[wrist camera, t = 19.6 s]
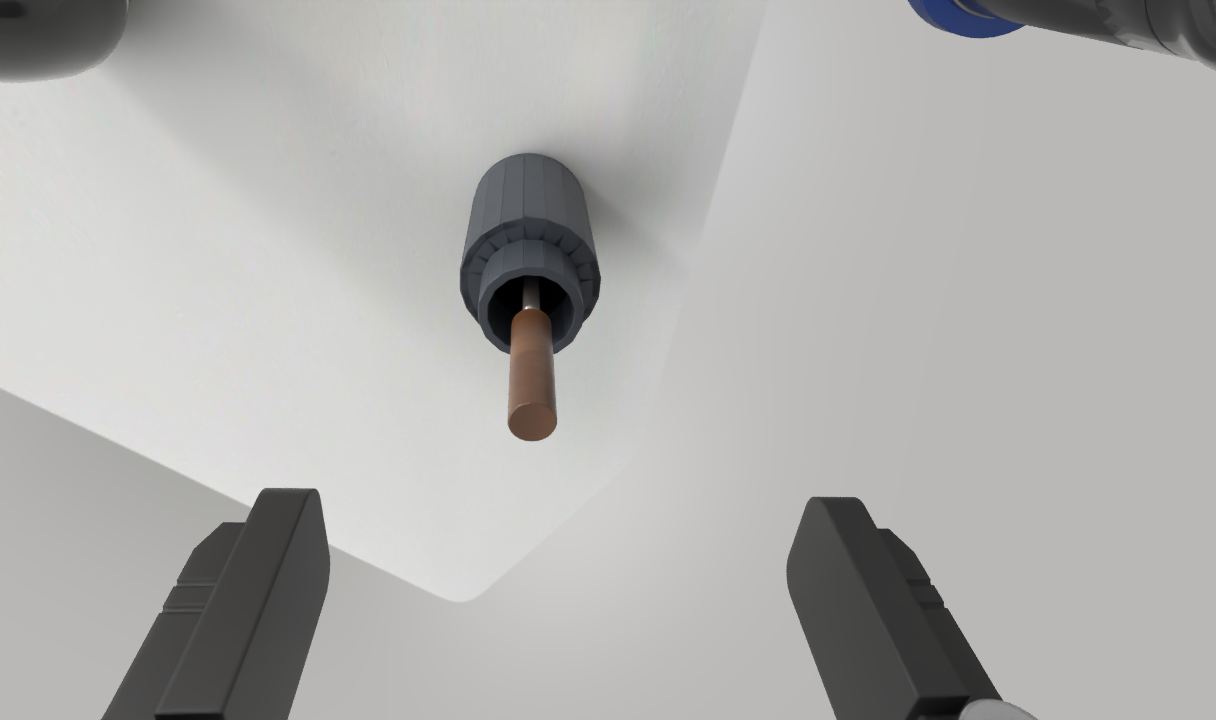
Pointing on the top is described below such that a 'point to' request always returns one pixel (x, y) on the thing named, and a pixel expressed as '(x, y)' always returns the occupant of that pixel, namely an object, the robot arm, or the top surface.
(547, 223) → the steel bottle
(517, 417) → the bottle brush
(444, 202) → the top surface
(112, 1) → the dark egg shaped ornament
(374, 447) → the top surface
